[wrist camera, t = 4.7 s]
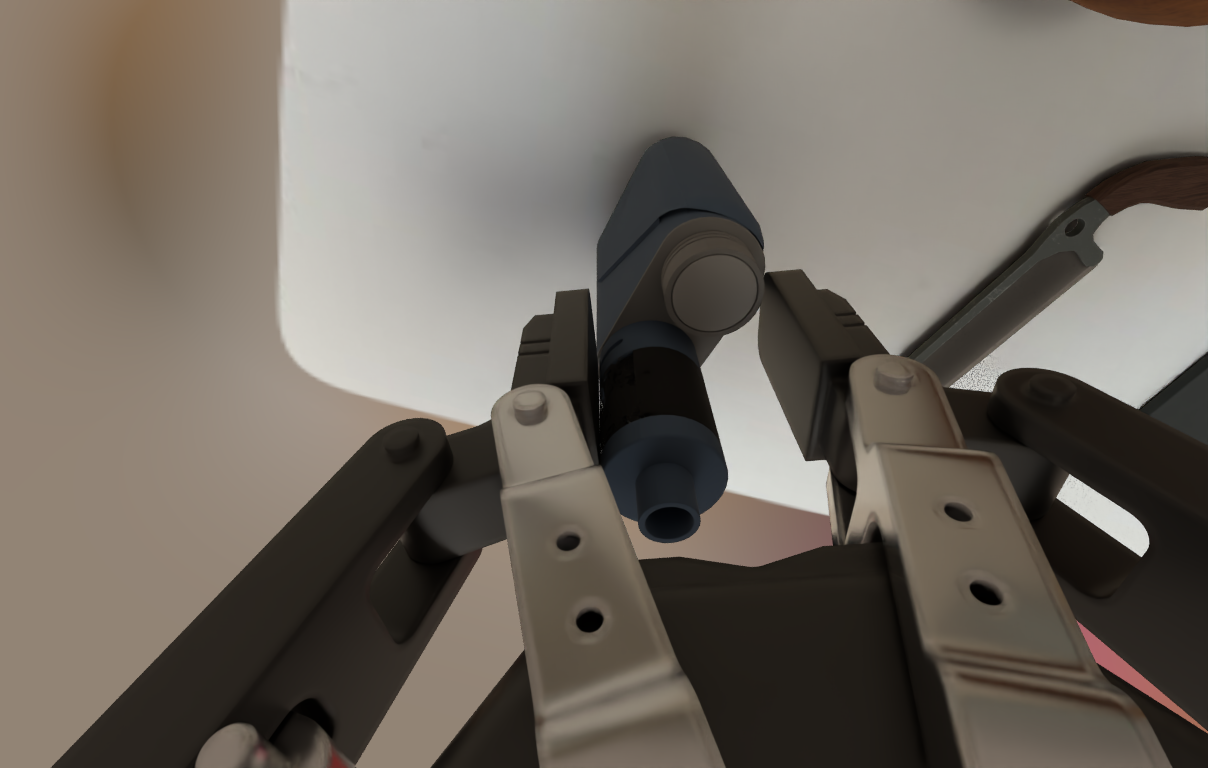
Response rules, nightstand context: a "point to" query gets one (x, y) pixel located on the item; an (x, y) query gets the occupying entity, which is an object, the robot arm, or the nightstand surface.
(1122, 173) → the knife
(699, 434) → the vaping device
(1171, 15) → the wooden figurine
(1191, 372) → the mat
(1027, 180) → the nightstand surface
